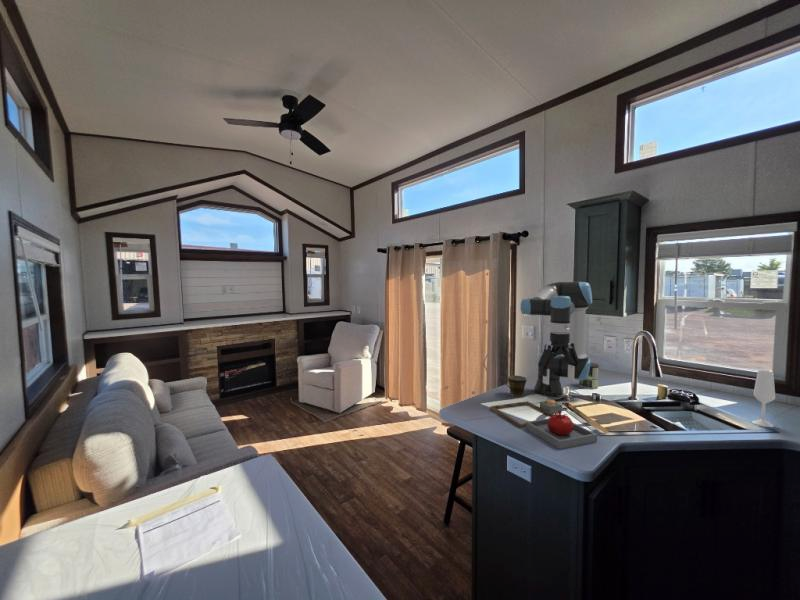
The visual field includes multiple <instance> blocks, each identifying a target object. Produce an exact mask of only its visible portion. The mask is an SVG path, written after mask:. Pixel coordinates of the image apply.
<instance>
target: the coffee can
mask: <svg viewBox="0 0 800 600" xmlns="http://www.w3.org/2000/svg"><path fill="white" fill-rule="evenodd" d="M599 367H600V365H599V364H597V363H593V362H591V364H590V369H589V374H588V378H587V379H586V380H580V379H578V380H579V381H578V386H579V387H581V388H583V389H588V390H597V389H599V386H598V385H599V370H600V369H599Z"/></svg>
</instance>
